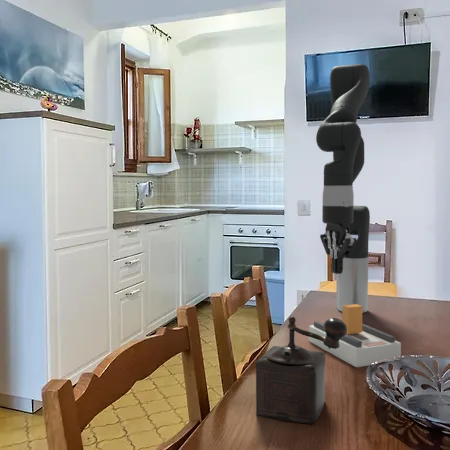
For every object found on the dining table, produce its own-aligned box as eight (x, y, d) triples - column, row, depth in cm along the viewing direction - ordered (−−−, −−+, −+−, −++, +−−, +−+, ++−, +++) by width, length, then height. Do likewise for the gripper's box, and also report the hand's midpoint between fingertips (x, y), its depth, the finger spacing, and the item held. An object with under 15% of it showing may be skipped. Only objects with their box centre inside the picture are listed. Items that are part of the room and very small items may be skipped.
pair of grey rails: (314, 326, 125) (314, 321, 125) (347, 322, 129) (347, 317, 129) (357, 347, 108) (357, 342, 108) (394, 342, 112) (394, 336, 112)
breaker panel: (308, 341, 126) (308, 325, 126) (348, 335, 130) (348, 320, 130) (356, 367, 107) (356, 349, 107) (400, 360, 112) (401, 342, 111)
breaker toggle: (342, 331, 119) (342, 305, 118) (356, 329, 120) (356, 304, 120) (348, 334, 117) (348, 307, 116) (362, 332, 118) (362, 306, 117)
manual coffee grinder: (252, 416, 85) (252, 314, 83) (272, 392, 95) (271, 300, 93) (344, 433, 79) (345, 323, 77) (354, 405, 89) (355, 307, 87)
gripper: (310, 203, 127) (310, 270, 128) (340, 205, 115) (339, 278, 116) (335, 203, 130) (335, 268, 131) (367, 204, 117) (366, 276, 119)
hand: (337, 273), depth 123 cm, fingers closed
